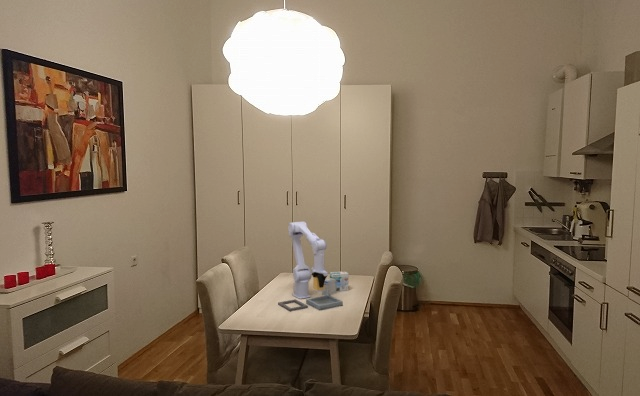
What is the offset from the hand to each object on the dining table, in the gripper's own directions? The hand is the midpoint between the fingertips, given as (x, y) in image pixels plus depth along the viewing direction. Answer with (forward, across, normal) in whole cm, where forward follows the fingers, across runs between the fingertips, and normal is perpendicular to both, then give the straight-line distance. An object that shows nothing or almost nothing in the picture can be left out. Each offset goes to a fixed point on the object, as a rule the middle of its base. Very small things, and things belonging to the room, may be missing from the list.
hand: (319, 286), depth 246 cm
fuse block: (+2, 0, 0) cm, 3 cm away
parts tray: (+10, +1, +2) cm, 11 cm away
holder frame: (+10, -6, -14) cm, 18 cm away
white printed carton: (+11, -19, +26) cm, 34 cm away
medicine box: (+11, -15, +16) cm, 24 cm away
